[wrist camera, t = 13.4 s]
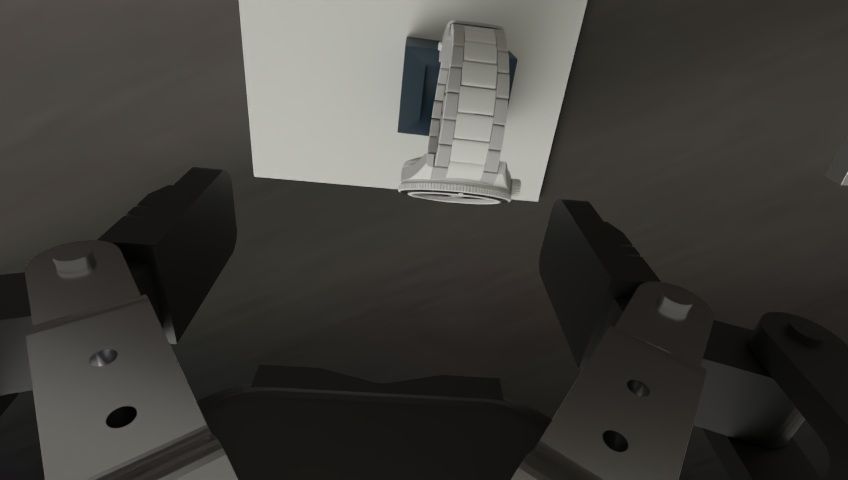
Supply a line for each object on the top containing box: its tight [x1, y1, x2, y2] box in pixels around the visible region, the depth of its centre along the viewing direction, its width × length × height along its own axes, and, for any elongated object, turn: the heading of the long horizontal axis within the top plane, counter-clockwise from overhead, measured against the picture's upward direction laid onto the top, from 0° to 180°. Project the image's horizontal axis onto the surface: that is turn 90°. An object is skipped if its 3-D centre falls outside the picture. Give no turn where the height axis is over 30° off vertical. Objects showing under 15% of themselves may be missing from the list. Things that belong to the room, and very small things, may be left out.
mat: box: [239, 0, 588, 202], centre depth 27 cm, size 18×14×1 cm
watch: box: [397, 20, 521, 204], centre depth 22 cm, size 6×8×11 cm
